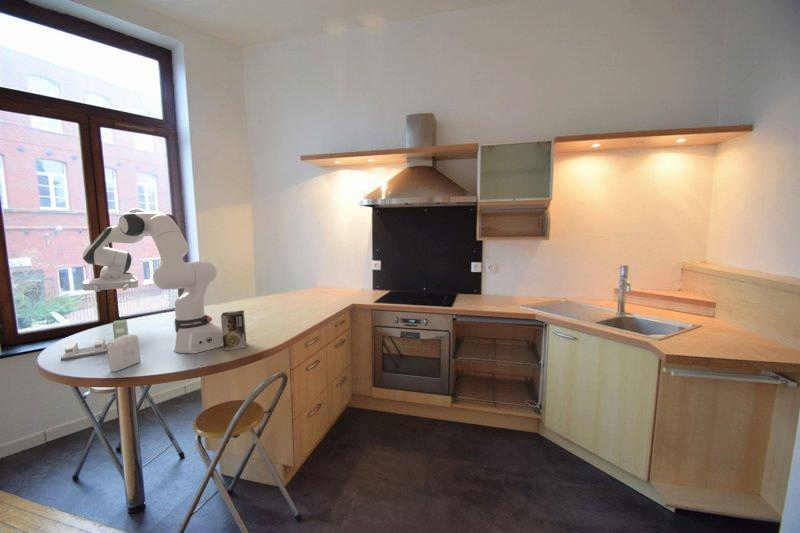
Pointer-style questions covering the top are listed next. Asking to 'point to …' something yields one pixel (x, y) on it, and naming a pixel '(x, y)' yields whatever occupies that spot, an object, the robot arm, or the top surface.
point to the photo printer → (123, 352)
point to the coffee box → (233, 330)
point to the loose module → (120, 328)
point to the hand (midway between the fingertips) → (111, 289)
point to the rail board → (84, 350)
